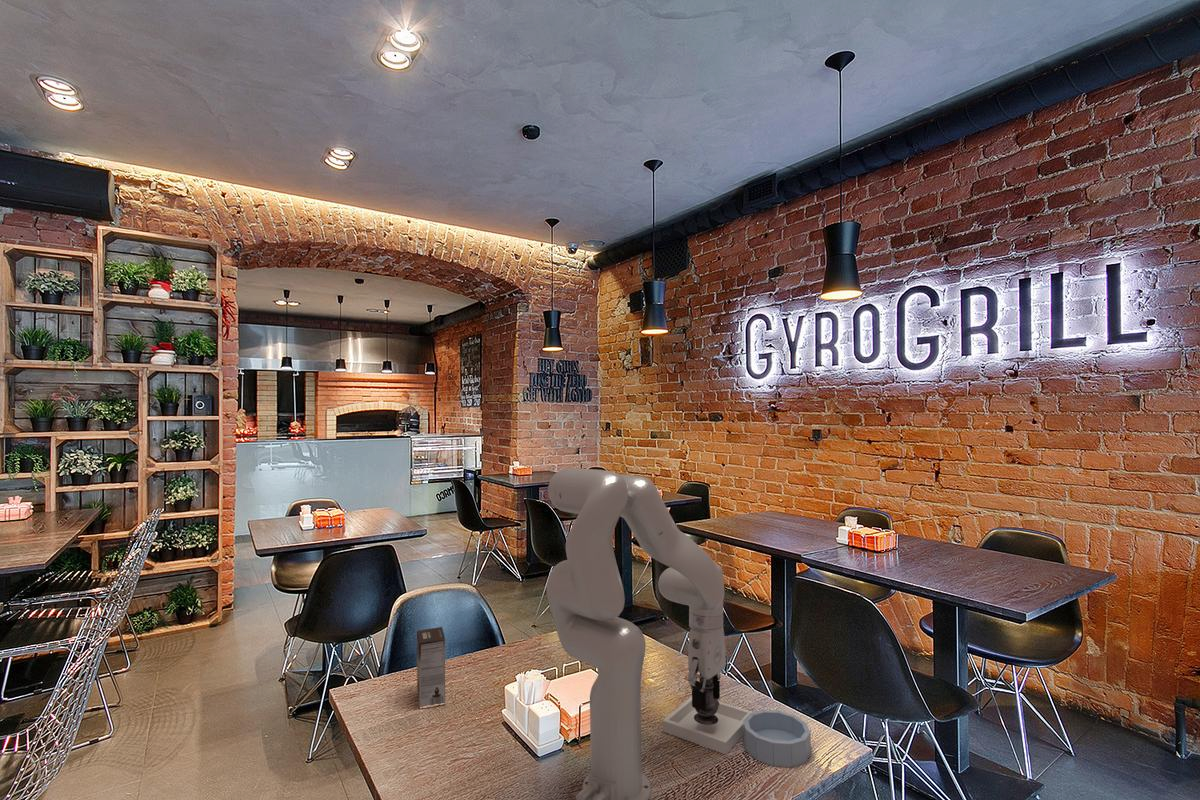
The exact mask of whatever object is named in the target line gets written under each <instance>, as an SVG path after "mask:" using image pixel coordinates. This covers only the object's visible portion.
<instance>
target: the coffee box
mask: <svg viewBox="0 0 1200 800" xmlns="http://www.w3.org/2000/svg"><path fill="white" fill-rule="evenodd" d="M416 680H417V681H416V682H417V683H416V684H417V685H416V689H417V690H416V691H417V692H418V693H417V700H419V701H418V707H423V706H427V705H434V704H441V703H445V704H446V637H445V633H444V630H443V626H439V627H438V626H437V627H432V628H426V629H421V630H419V629H418V630H417V631H416Z"/></svg>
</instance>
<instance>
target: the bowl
mask: <svg viewBox="0 0 1200 800" xmlns="http://www.w3.org/2000/svg"><path fill="white" fill-rule="evenodd" d="M752 712H753V713H750V714H749V715H748V716H747V717H746V718H745V719H744V720H743V723H744V736H743V743H744V749H745V751H746V753H748V754H749V755H750V756H752V758H754V759H755V760H756V761H758V762H760V763H761V762H762V763H764V764H767V765H769V766H772V767H780V768H781V767H786V768H794V767H797V766H800V765H803V763H804V764H806V763H807V762H806V761H808V760H809V759H810V757H811V755H812V744H811V743H812V742H811V736H812V735H811V733H812V732H811V730H810V728H809V725H808V723H807V722H806V721H804V720H803V719H801V718H799V717H798V716H797V715H795V714H792V713H788V712H785V711H781V710H772V709H761V710H758V711H752ZM808 758H809V759H808Z"/></svg>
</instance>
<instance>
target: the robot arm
mask: <svg viewBox="0 0 1200 800" xmlns="http://www.w3.org/2000/svg"><path fill="white" fill-rule="evenodd" d="M547 488H548V489H547V493H548V497H549V500H550V502H551V504H552V505H553V507H555V508H556V509H558V510H559V511H561V512H565V513H569V514H575V515H576V514H577V517H576V519H575V520H574V523H573V524H572V526H571V528H570V530H569V532H568V535H567V536H566V537H567V538H566V541H565V553H566V558H567V559H565V560H562V561H560V562H558V563H556V564H555V566H553V568H552V570H551V571H550V573H549V575H548V579H547V581H546V599H547V602H548V606H549V610H550V612H551V617H552V619H553V623H554V627H555V630H556V634H557V637H558V639H559V643H560V644H561V647H562V648H563V650H564V651H565V652H566V653H567V654H568V656H570V657H572V658H574V659H576V660H578V661H581V662H583V663H586V664H587V665H591V666H592V667H595V668H596V669H597V670H598V671H597V672H598V674H597V677H596V678H595V680H594V681H593V684H592V686H591V688H590V693H589V729H590V730H589V732H590V733H589V734H590V735H589V736H590V741H589V743H590V772H589V773H588V775H587V776H586V777H585V778H584V780H583V782H582V789H581V790H580V791H579V792H578V793H577V794H576V795H575V800H649V799H650V796H651V792H652V791H651V790H652V789H651V788H652V787H651V781H650V780H649V778H648V777H647V775H646V774H644V772H643V762H642V761H643V755H642V753H643V752H642V749H643V747H642V746H643V745H642V703H641V702H642V692H641V691H642V690H641V689H642V688H641V687H642V673H643V666H644V662H645V661H644V660H645V655H646V654H645V653H646V639H645V636H644V634H643V632H642V630H641V629H640V628H639V627H638V626H637V625H635V624H634V623H633V622H631V621H630V620H627V619H624V618H621V617H619V616H620V615H621V613H622V612H623V610H624V607H625V601H626V598H625V591H624V586H623V582H622V577H621V575H620V571H619V568H618V564H617V560H616V556H615V555H616V554H615V552H614V548H613V545H614V544H613V537H614V535H613V534H614V531H615V528H616V526H617V523H618V522H619V519H620V518H623V519H624V521H625V522H626V523H627V526H628V527H629V529H630V531H631V532H632V534H633V536H634V538H635V539H636V541H637V543H638V544H639V546H640V548H641V550H642V551H643V552H644V553H645V554H646V555H648V556H649V557H651V558H652V559H654V560H655V561H658V562H659V563H660V564H663V565H665V566H667V567H668V568H666V569H665V570H664V571H662V573H661V574H660V576H659V578H658V585H657V586H658V590H659V593H660V594H661V596H662V597H663V598H665V599H666V600H668V601H670V602H673V603H677V604H680V605H684V606H685V605H686V606H688V607H689V609H688V627H689V628H690V631H689V640H688V651H687V655H688V656H687V668H688V675H687V678H686V679H687V682H688V683H689V686H690V689H691V696H692V707H694V708H697V709H700V710H703V711H705V710H706V691H704V690H705V684H706V679H707V680H708V679H710V678H712V677H713V684H714V687H713V697H714V699H716V700H718V701H719V700H720V696H721V694H720V693H721V687H720V686H721V683H720V680H721V679H722V678H721V671H723V670H724V669H725V667H726V664H727V660H726V658H727V656H726V655H727V654H726V653H727V651H726V638H725V631H724V630H725V629H724V599H725V593H726V592H725V584H724V571H723V567H722V566H721V565H719V564H717V563H715V562H714V560H713V559H712V557H711V555H710V554H708V553H707V551H706V550H704V548H702V547H701V546H700V545H698V544H697V543H696V542H695V541H694V540H692V538H690V537H689V536H688V535H686V534H685V533H684V532H683V531H681V530H680V529H679V528H678V526H677V524H676V523H675V521H674V519H673V517H672V515H671V514H670V512H669V510H668V508H667V506H666V504H665V502H664V500H663V498H662V496H661V495H660V492H659V490H658V488H657V486H655V484H654V482H653V481H651V480H650V478H648V477H645V476H641V475H636V474H635V475H634V474H622V473H621V474H620V473H617V472H613V471H610V470H604V469H595V468H594V469H593V468H576V467H565V468H562V469H559V470H557V471H556V472H555V474H554V473H553V476H552V477H551V478H550V480H549V483H548V487H547ZM698 673H699V674H698ZM700 673H701V675H700ZM697 679H699V680H697ZM700 679H702V680H701V684H700V683H699V682H700Z"/></svg>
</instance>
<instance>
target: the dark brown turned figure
mask: <svg viewBox="0 0 1200 800" xmlns="http://www.w3.org/2000/svg"><path fill="white" fill-rule="evenodd" d="M699 675H701V673H700V672H699ZM701 680H702V679H700V678H699V683H700V684H701ZM713 687H714V684H713V677H712V678H710V679H708V680H707V679H706V684H705V690H704V691H706V710H705V711H703V710H700V709H697V708H695V710H696V712H697V714H696V715H695V716H694V719H695V721H696V722H698V723H700V724H704V725H712V724H715V723H717V722H718V718H717V717H716V716H715V715H714V714H715V713H716V712H717V710H718V706H719V702H720V701H719V699H718V700H717V699H714V697H713ZM718 701H719V702H718Z"/></svg>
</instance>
